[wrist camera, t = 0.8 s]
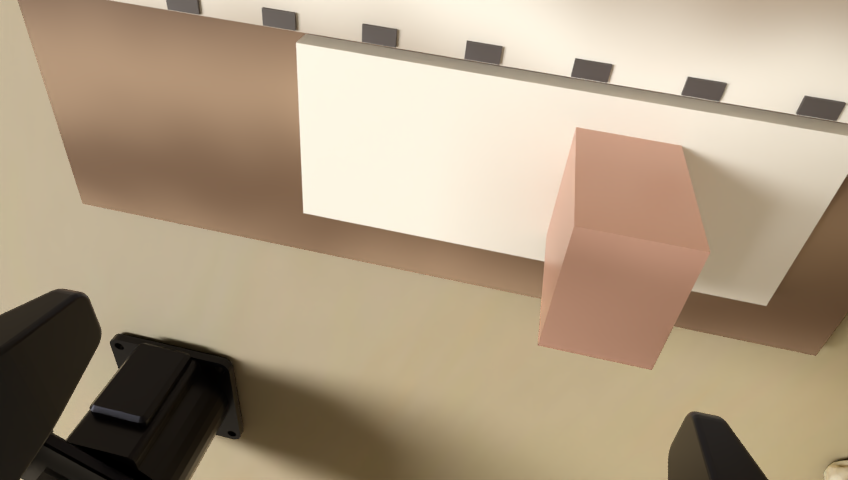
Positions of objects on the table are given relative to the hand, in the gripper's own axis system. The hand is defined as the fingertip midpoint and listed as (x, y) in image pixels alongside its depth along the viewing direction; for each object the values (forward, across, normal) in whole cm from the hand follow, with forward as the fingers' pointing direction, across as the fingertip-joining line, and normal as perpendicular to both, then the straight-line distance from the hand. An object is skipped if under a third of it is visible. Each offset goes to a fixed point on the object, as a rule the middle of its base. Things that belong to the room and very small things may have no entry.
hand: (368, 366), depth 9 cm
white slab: (+13, -3, +3) cm, 13 cm away
